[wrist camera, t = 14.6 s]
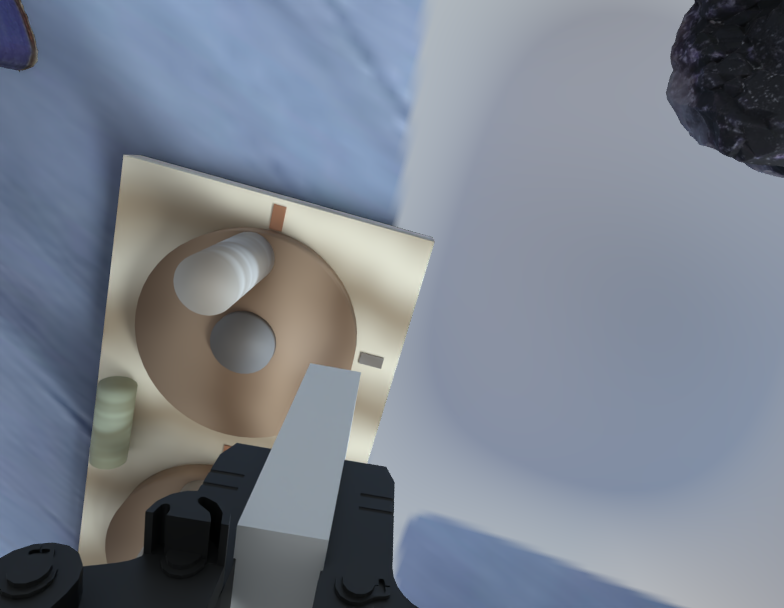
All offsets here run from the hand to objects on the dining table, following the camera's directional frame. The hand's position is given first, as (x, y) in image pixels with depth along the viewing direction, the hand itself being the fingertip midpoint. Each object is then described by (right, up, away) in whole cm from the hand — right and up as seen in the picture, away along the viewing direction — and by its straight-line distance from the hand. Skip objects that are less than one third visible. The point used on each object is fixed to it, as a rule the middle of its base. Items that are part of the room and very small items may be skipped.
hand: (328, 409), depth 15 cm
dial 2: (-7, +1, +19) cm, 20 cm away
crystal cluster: (+24, +18, +16) cm, 34 cm away
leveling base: (-10, -6, +23) cm, 26 cm away
